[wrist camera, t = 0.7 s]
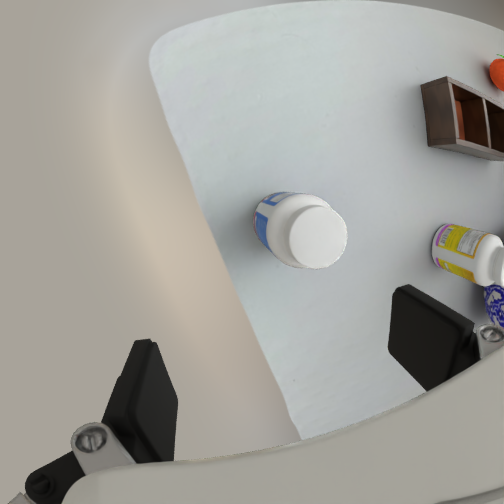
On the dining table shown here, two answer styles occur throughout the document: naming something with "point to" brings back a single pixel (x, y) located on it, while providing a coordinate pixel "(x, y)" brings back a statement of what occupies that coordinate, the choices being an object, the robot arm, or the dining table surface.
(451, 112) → the caddy
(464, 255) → the supplement bottle
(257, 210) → the pill bottle
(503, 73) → the clementine
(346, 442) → the robot arm
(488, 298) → the ornament
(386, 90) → the dining table surface
